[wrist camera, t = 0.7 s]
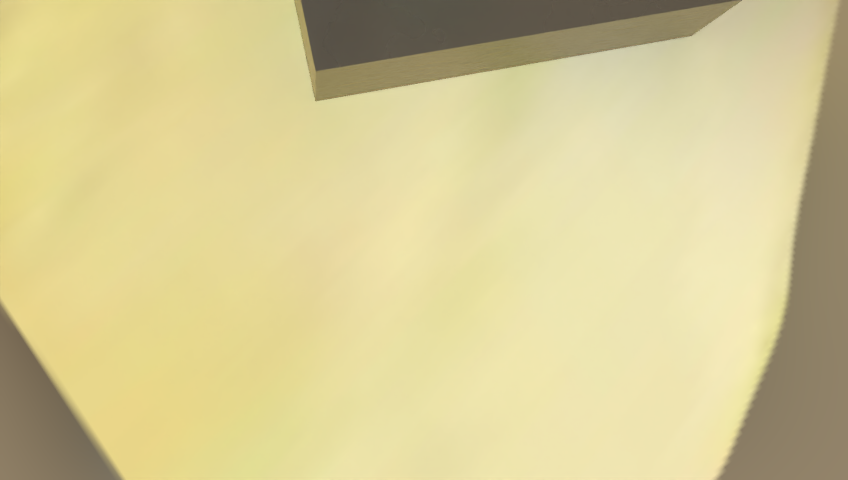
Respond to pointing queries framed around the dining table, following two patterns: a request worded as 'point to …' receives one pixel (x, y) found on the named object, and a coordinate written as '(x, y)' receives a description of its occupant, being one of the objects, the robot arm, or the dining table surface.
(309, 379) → the dining table surface
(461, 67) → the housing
